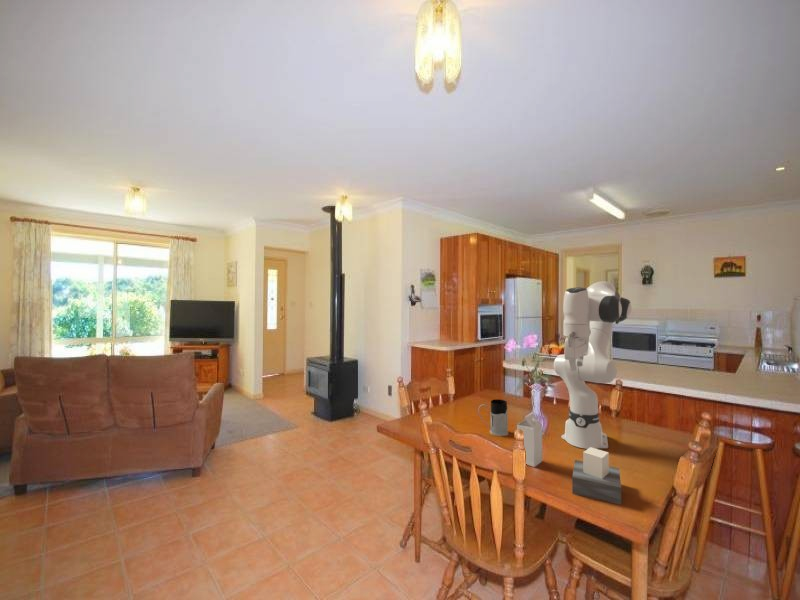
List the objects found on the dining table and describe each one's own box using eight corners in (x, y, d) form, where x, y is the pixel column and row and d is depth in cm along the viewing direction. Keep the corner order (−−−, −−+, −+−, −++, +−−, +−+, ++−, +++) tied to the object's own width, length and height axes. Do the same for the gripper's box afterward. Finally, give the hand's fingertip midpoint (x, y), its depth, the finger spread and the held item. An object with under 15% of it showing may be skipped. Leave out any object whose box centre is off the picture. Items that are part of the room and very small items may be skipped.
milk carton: (517, 461, 144) (516, 414, 143) (525, 455, 149) (525, 410, 148) (534, 467, 139) (533, 418, 138) (542, 461, 144) (541, 414, 143)
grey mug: (511, 436, 169) (510, 404, 169) (480, 436, 169) (480, 405, 169) (505, 428, 178) (505, 398, 178) (476, 429, 178) (476, 399, 178)
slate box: (574, 475, 133) (574, 459, 133) (619, 485, 126) (619, 468, 126) (572, 494, 121) (572, 477, 121) (621, 506, 114) (621, 487, 114)
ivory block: (590, 466, 128) (590, 447, 128) (608, 472, 123) (608, 452, 123) (583, 472, 124) (583, 452, 124) (602, 479, 119) (602, 458, 119)
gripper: (578, 334, 123) (579, 374, 124) (591, 329, 139) (591, 364, 140) (559, 333, 127) (559, 372, 128) (574, 328, 143) (574, 363, 144)
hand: (576, 368), depth 134 cm, fingers open, 8 cm apart
